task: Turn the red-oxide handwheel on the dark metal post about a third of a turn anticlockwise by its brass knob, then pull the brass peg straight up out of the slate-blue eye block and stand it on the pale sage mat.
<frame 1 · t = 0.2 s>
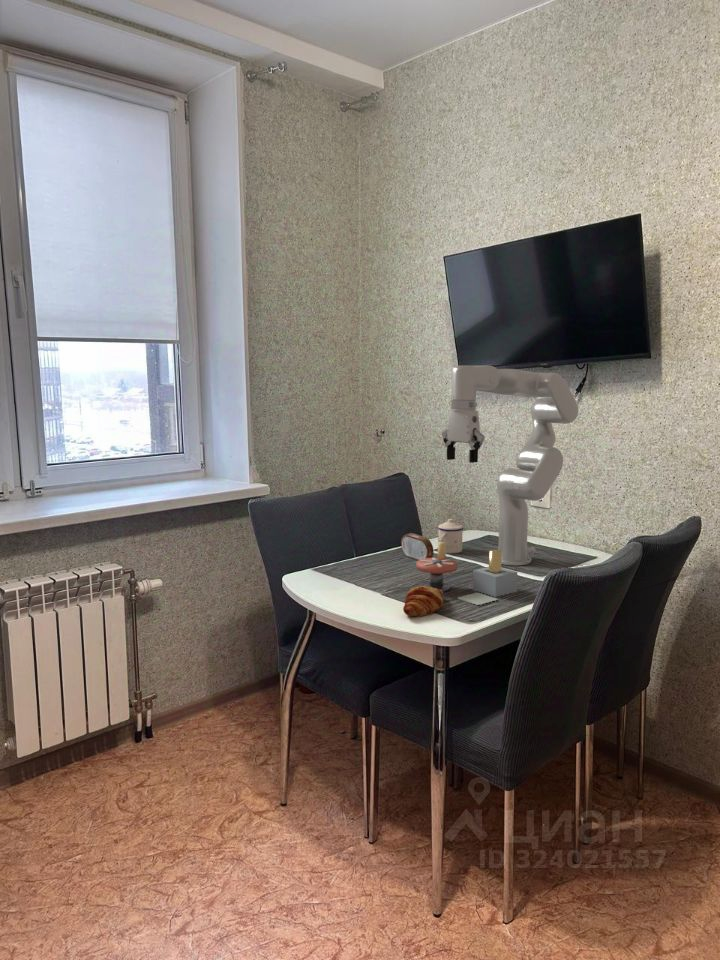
hand: (461, 460, 221), 36 cm above the table, tool pointing down, fingers open, 9 cm apart
tin: (416, 559, 245), on the table
croissant: (425, 610, 192), on the table
handwheel: (436, 557, 209), point 10 cm above the table, hinge at 0.0°
wheel post: (436, 588, 210), on the table
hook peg: (495, 571, 207), in the eye block
sage mat: (477, 599, 199), on the table
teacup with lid: (448, 552, 255), on the table
eye block: (494, 590, 208), on the table
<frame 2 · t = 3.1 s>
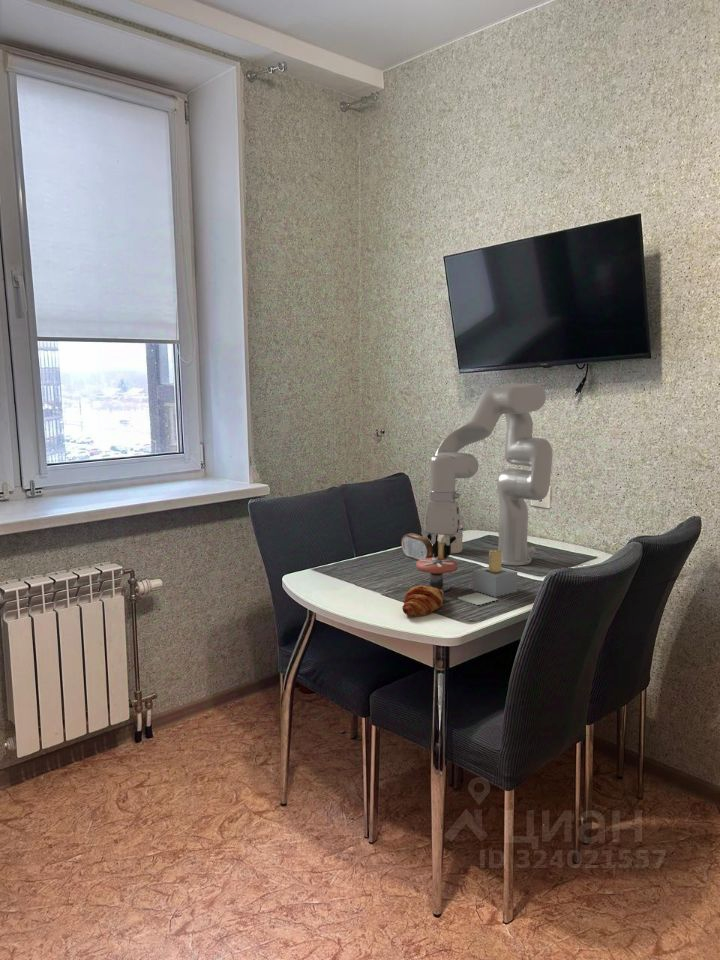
hand: (441, 556, 213), 9 cm above the table, tool pointing down, fingers closed on handwheel, 2 cm apart
handwheel: (436, 557, 209), point 10 cm above the table, hinge at 0.4°, touching gripper
everything else where it was.
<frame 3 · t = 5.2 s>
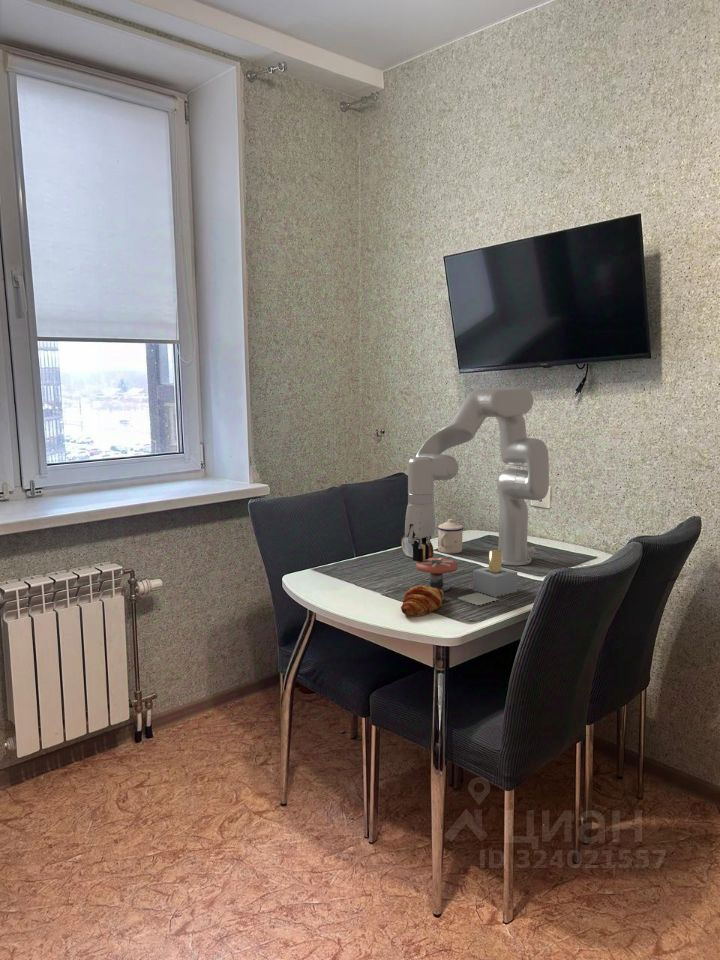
hand: (420, 559, 211), 8 cm above the table, tool pointing down, fingers closed on handwheel, 2 cm apart
handwheel: (436, 557, 209), point 10 cm above the table, hinge at 94.8°, touching gripper
everything else where it was.
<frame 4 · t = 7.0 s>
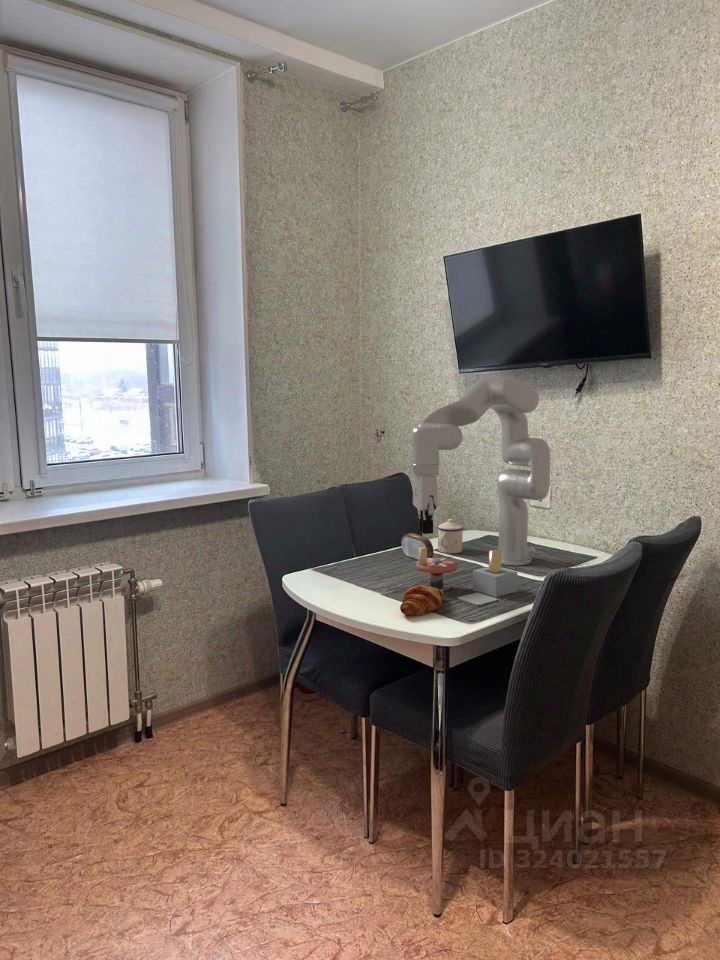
hand: (426, 531, 205), 18 cm above the table, tool pointing down, fingers closed
handwheel: (436, 557, 209), point 10 cm above the table, hinge at 138.7°
everything else where it was.
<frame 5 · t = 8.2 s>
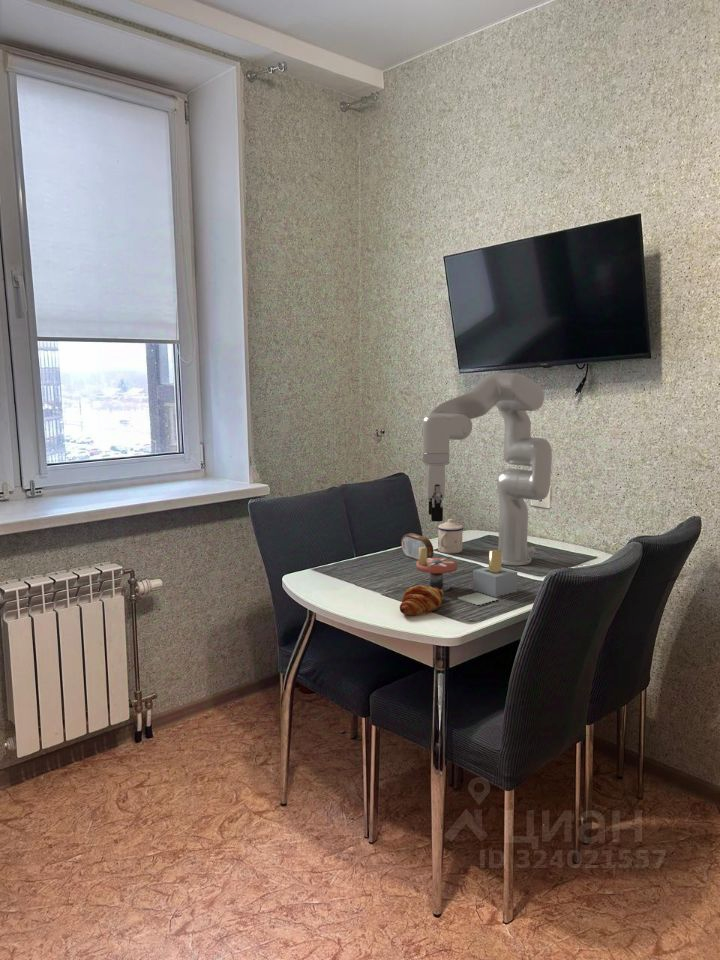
hand: (435, 517, 204), 22 cm above the table, tool pointing down, fingers open, 9 cm apart
nothing on the table moved.
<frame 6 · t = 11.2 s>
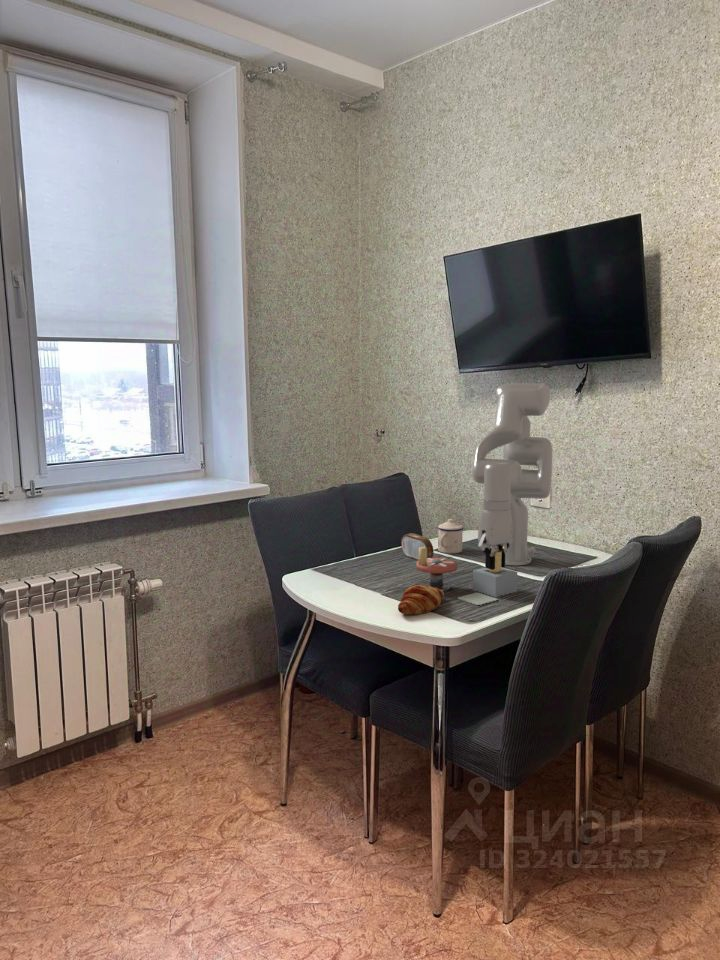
hand: (495, 566, 207), 7 cm above the table, tool pointing down, fingers closed on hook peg, 3 cm apart
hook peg: (495, 571, 207), in the eye block, touching gripper
when the fingers open (9 cm above the table, at t = 16.4 s): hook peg stays where it is, resting on sage mat.
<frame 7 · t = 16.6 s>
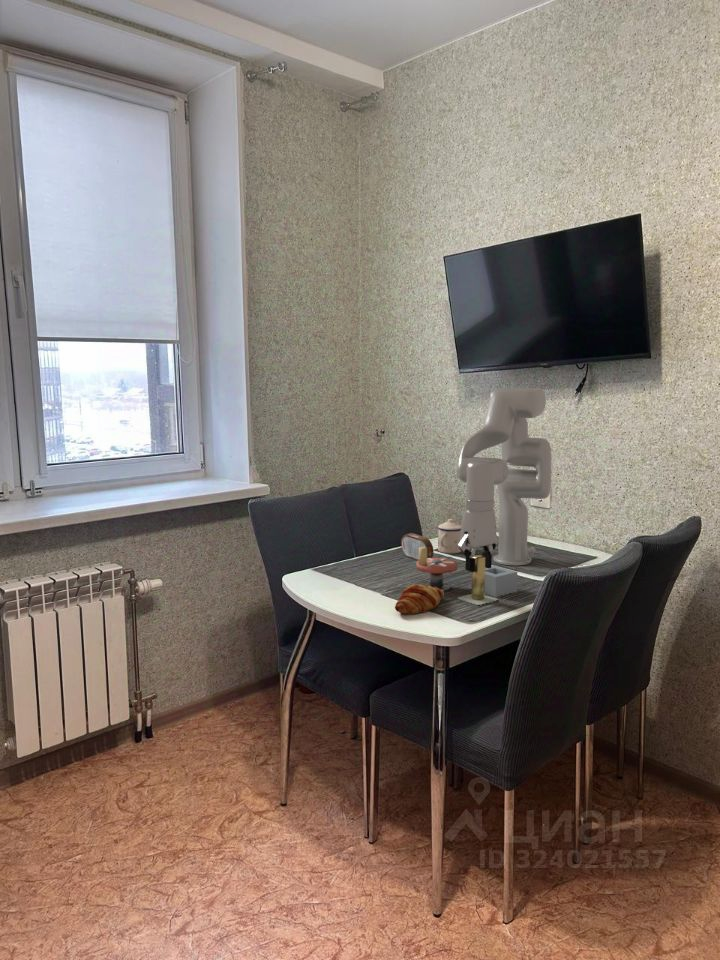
hand: (478, 568, 198), 9 cm above the table, tool pointing down, fingers open, 5 cm apart
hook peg: (478, 577, 199), on the sage mat
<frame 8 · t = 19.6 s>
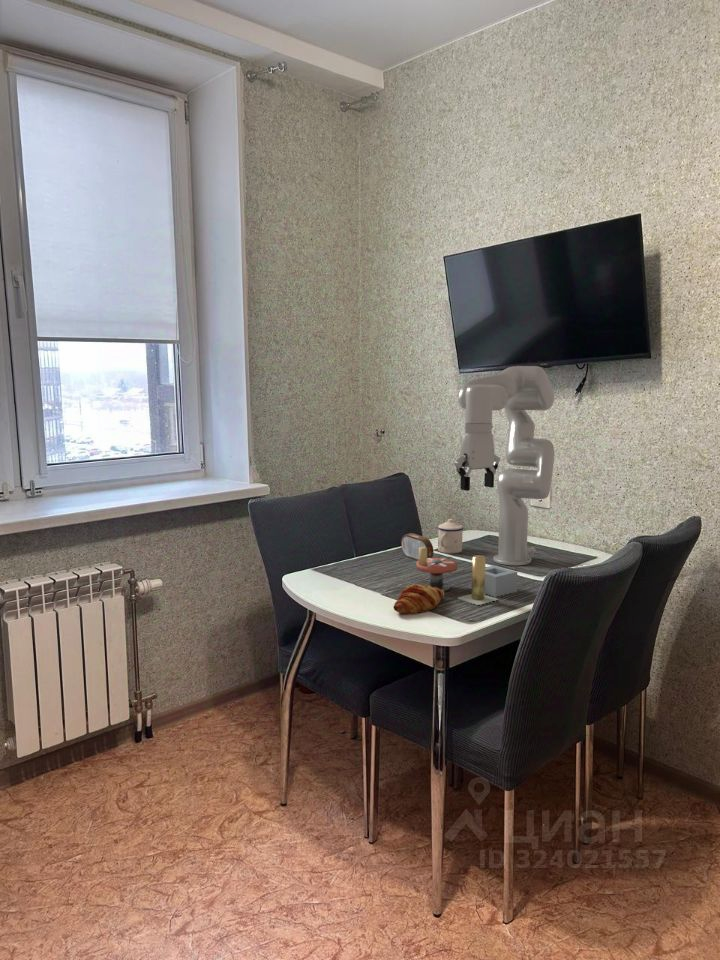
hand: (477, 488, 204), 30 cm above the table, tool pointing down, fingers open, 9 cm apart
at the end: handwheel at +139° (first picture: +0°); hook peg inside the target area on the sage mat (0.1 cm from its centre), point 6.4 cm above the sage mat's base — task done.
